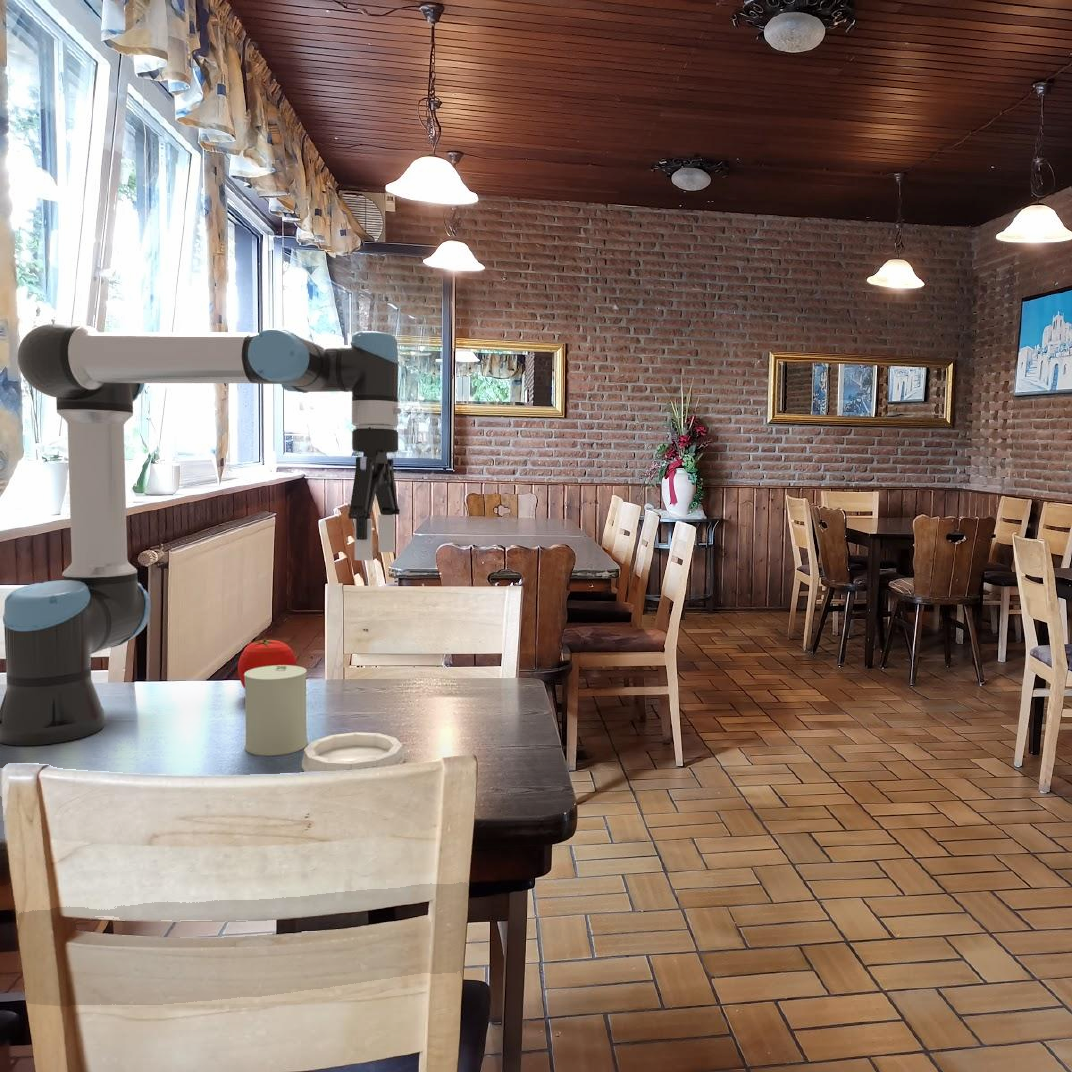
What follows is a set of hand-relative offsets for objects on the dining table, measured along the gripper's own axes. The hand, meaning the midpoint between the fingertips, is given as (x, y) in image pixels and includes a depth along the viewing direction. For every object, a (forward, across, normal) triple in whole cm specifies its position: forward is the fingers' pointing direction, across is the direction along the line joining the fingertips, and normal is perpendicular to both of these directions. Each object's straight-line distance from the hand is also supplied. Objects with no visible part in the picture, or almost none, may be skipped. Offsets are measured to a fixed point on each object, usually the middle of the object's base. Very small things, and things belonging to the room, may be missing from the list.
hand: (375, 556), depth 140 cm
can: (+28, -15, +11) cm, 34 cm away
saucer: (+28, -21, -3) cm, 35 cm away
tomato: (+28, +12, +24) cm, 39 cm away
